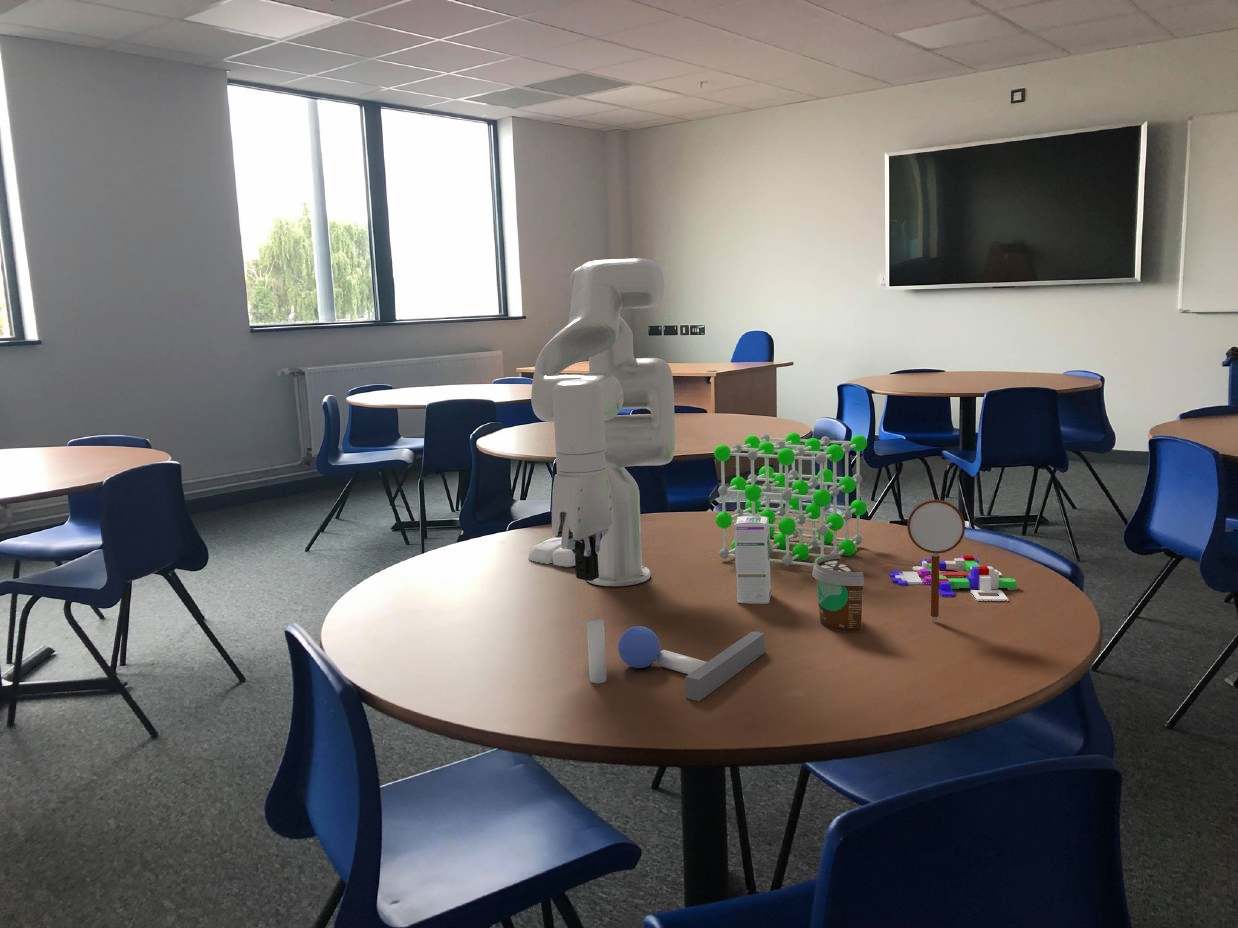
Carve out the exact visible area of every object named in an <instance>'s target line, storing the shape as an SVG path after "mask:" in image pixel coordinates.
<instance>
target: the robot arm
mask: <svg viewBox="0 0 1238 928" xmlns="http://www.w3.org/2000/svg"><path fill="white" fill-rule="evenodd" d="M664 279H665V278H664V275H663V271H662V268H661V266H660V265H659V264H658V262H656V261H655V260H651V259H647V258H641V257H640V258H639V257H638V258H635V257H633V258H616V259H615V258H614V259H598V260H591V261H588V262H585V263H584V264H582V265H581V266H579V267H577V268H575V269H574V270H572V273H571V275H570V278H569V285H570V291H571V301H570V302H571V303H570V309H569V317H568V324H567V325H566V326H565V327H563V328H562V329H561V330H559V331H558V332H557V333H556V334H555V335H554V336H553V337H552V338H551V339H550V340H549V341H548V342H547V343H546V344H545V345H544V346H543V348H542V349H541V350H540V352H539V353H538V356H537V359H536V362H535V366H534V371H533V372H534V373H533V377H532V384H531V393H530V394H531V395H530V400H531V407H532V411H533V413H534V415H535V416H536V417H537V418H538V419H539V420H541V421H543V422H545V423H547V422H548V423H554V424H553V425H554V440H555V442H554V443H555V444H554V445H555V458H556V459H555V462H556V474H554V477H553V482H552V495H551V496H552V497H551V527H552V534H553V537H556V538H561V537H562V542H561V548H562V549H568V550H572V553H573V555H575V576H576V578H577V579H578V580H583V581H587V582H588V583H590V584H592V585H596V586H600V587H601V586H602V587H627V586H633V585H637V584H641V583H643V582H646V581H648V580H649V579H650V577H651V570H650V569H649V568H648V567H647V566H644V565H643V560H642V559H643V558H642V554H643V553H642V532H641V530H642V529H641V507H640V506H641V504H640V489H639V485H638V483H637V482H636V480H635V479H634V477H633V476H632V475H631V473H629V471H628V470H627V469H626V468H625V467H635V466H636V467H637V466H638V467H639V466H640V467H644V466H645V467H647V466H662V465H666V464H669V463H671V462H672V460H673V458H674V456H675V450H676V424H675V420H676V419H675V418H676V417H675V388H674V376H673V372H672V371H673V370H672V369H671V366H670V365H669V363H668V362H667V361H666V360H664V359H663V358H658V357H642V358H641V357H639V358H635V355H634V333H633V331H632V329H631V328H630V326H629V325H628V323H627V322H626V321H625V320H624V318H623V317H622V316H621V310H623V309H625V310H626V309H627V310H628V309H655V308H656V307H659V305H660V304H661V302H662V300H663V296H664V292H665V280H664ZM587 359H588V372H589V373H582V372H581V373H562V372H563V371H564V370H566V369H567V368H569V367H570V366H573V365H575V364H577V363H580V362H582V361H586V360H587ZM622 409H625V410H627V409H632V410H633V409H647V410H648V411H650V415H646V414H645V415H618V414H619V412H620V410H622ZM579 541H580V542H579Z"/></svg>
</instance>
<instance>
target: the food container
mask: <svg viewBox="0 0 1238 928" xmlns="http://www.w3.org/2000/svg"><path fill="white" fill-rule="evenodd" d="M826 555H827V556H823V557H820V558H818V557H817V558H818V559H817V560H816V559H815V560H816V563H815V564H814V563H813V564H814V567H813V566H812V567H813V569H812V572H811V575H812V577H813V578H814V579H816V587H817V588H816V589H817V598H818V599H817V600H818V601H817V602H818V613H819V614H818V615H819V623H820V625H821V626H823V628H826V629H829V630H832V631H836V632H843V633H861V632H862V613H863V612H862V611H863V592H864V591H863V589H864V588H863V587H864V586H865V578H864V572H863V571H855V570H854V568H853V567H852V566H851V565H850V564H848V563H845V562H843V561H842V560H841V554H832V555H829V554H826Z"/></svg>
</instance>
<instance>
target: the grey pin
mask: <svg viewBox="0 0 1238 928" xmlns="http://www.w3.org/2000/svg"><path fill="white" fill-rule="evenodd" d="M586 629H587V630H586V632H587V650H588V656H587V657H588V672H589V676H588V677H589V682H590V683H592V684H603V683H605V682H607V681H608V680H607V678H608V677H607V659H606V658H607V656H606V633H605V621H604V620H603V619H597V618H596V619H595V618H594V619H590V620H587V622H586Z"/></svg>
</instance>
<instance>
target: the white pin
mask: <svg viewBox="0 0 1238 928" xmlns="http://www.w3.org/2000/svg"><path fill="white" fill-rule="evenodd" d="M656 661H657V664H658V666H659V667H661V668H665V669H668V670H672V671H676V672H677V673H678V672H679V673H682V674H685V675H687V676H688V675H689V674H690V673H692V672H693V671H695V670H696V669H698V668H699V667H701V666H702V665H704V664H705V663H707V662H708V661H705V660H701V659H698V658H694V657H691V656H687V655H684V654H680V653H677V652H673V651H669V650H666V649H663V650H661V651H659V654H658V657H657V658H656Z"/></svg>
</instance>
